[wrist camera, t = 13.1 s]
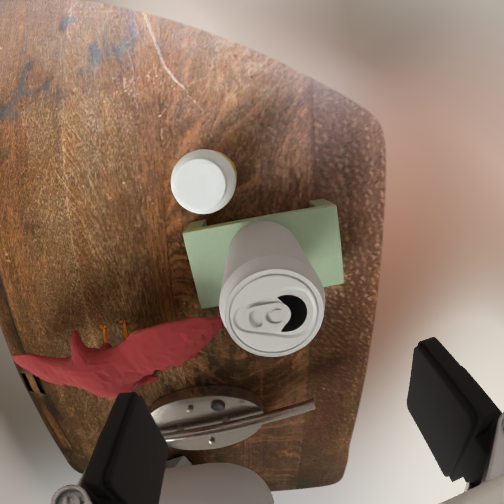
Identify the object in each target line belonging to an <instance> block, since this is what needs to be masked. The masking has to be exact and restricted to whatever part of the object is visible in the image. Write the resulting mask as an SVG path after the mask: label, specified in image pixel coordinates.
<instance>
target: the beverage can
mask: <svg viewBox="0 0 504 504" xmlns="http://www.w3.org/2000/svg"><path fill="white" fill-rule="evenodd" d="M219 309H220V315H221V318H222V321H223V323H224V325H225V327H226V329H227V330H228V332H229V334H230V336H231V337H232V339H233V340H234V341H235V342H236V343H237V344H238V345H239V346H240V347H242V348H243V349H245V350H246V351H248V352H251V353H253V354H256V355H260V356H266V357H278V356H284V355H288V354H291V353H293V352H296V351H298V350H300V349H301V348H303V347H304V346H306V345H307V344H308V343H309V342H310V341H311V340H312V339H313V338H314V337H315V335H316V334H317V332H318V330H319V328H320V327H321V324H322V321H323V316H324V309H325V292H324V288H323V285H322V283H321V281H320V279H319V277H318V276H317V274H316V272H315V271H314V269H313V267H312V265H311V264H310V262H309V260H308V259H307V257H306V255H305V253H304V252H303V250H302V248H301V247H300V245H299V243H298V242H297V240H296V238H295V237H294V235H293V234H292V233H291V232H290V231H289V230H288V229H287V228H286V227H284V226H282V225H280V224H278V223H275V222H272V221H257V222H253V223H250V224H248V225H246V226H244V227H243V228H242V229H240V230H239V231H238V232H237V233H236V234H235V236H234V237H233V239H232V240H231V242H230V245H229V248H228V253H227V258H226V264H225V270H224V276H223V282H222V287H221V293H220V300H219Z"/></svg>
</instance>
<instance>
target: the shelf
mask: <svg viewBox="0 0 504 504" xmlns="http://www.w3.org/2000/svg"><path fill="white" fill-rule="evenodd" d="M309 205H310V208H304V209H298V210H292V211H287V212H281V213H275V214H269V215H264V216H258V217H253V218H247V219H242V220H236V221H231V222H225V223H220V224H215V225H210V226H207V223H206V219H204V220H199V221H194V222H191V223H190V224H189V225H188V227H187V228H186V229H185V231H184V232H183V238H184V242H185V246H186V251H187V255H188V259H189V263H190V267H191V271H192V275H193V279H194V283H195V287H196V290H197V294H198V298H199V302H200V306H201V309H203V308H210V307H216V306H219V300H220V293H221V287H222V282H223V276H224V270H225V264H226V258H227V253H228V248H229V245H230V242H231V240H232V239H233V237H234V236H235V234H236V233H237V232H238V231H239V230H240V229H242V228H243V227H244V226H246V225H248V224H250V223H253V222H257V221H272V222H275V223H278V224H280V225H282V226H284V227H286V228H287V229H288V230H289V231H290V232H291V233H292V234H293V235H294V237H295V238H296V240H297V242H298V243H299V245H300V247H301V248H302V250H303V252H304V253H305V255H306V257H307V259H308V260H309V262H310V264H311V265H312V267H313V269H314V271H315V272H316V274H317V276H318V277H319V279H320V281H321V283H322V285H323V287H327V286H332V285H337V284H342V283H344V272H343V261H342V250H341V240H340V231H339V222H338V213H337V206H336V205H334V204H333V203H331V202H329V201H327V200H325V199H317V200H310V201H309Z"/></svg>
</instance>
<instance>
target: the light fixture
mask: <svg viewBox="0 0 504 504" xmlns="http://www.w3.org/2000/svg"><path fill="white" fill-rule="evenodd" d="M315 409H316V406H315V403H314V400H313V399H310V400H306V401H303V402H300V403H297V404H293V405H290V406H287V407H283V408H280V409H276V410H272V411H269V412H265V413H264V408H263V402H262V400H261V399H260V397H259V396H257V395H256V394H255V393H253V392H251V391H249V390H247V389H243V388H240V387H234V386H226V385H207V386H198V387H191V388H186V389H182V390H179V391H176V392H173V393H170V394H168V395H165V396H163V397H161V398H160V399H158V400H157V401H156V402H155V403H153V404H152V406H151V407H150V408H149V411H150V413H151V415H152V417H153V419H154V421H155V422H156V424H157V426H158V428H159V430H160V432H161V433H162V435H163V437H164V439H165V440H166V442H167V444H168V447H172V448H177V449H184V450H207V449H215V448H220V447H225V446H228V445H232V444H235V443H237V442H240V441H242V440H244V439H246V438H248V437H250V436H251V435H253V434H254V433H255V432H256V431H257V430H258V429H259V428H260V427H261V426H262V425H263V424H266V423H270V422H274V421H278V420H281V419H285V418H289V417H292V416H296V415H299V414H302V413H306V412H309V411H312V410H315ZM87 467H88V466H87ZM86 469H87V468H86ZM86 469H85V471H84V473H83V475H82V476H81V478H80V480H79V482H78V484H77V486H80V485H81V483H82V480H83V477H84V475H85V472H86ZM159 504H274V501H273V497H272V494H271V492H270V489H269V488H268V486H267V485H266V483H265V482H264V481H263V479H262V478H261V477H260V476H259V475H257V474H256V473H255V472H253V471H251V470H250V469H247V468H245V467H242V466H239V465H235V464H230V463H206V464H199V465H192V466H183V467H174V468H165V473H164V478H163V483H162V489H161V494H160V500H159Z"/></svg>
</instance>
